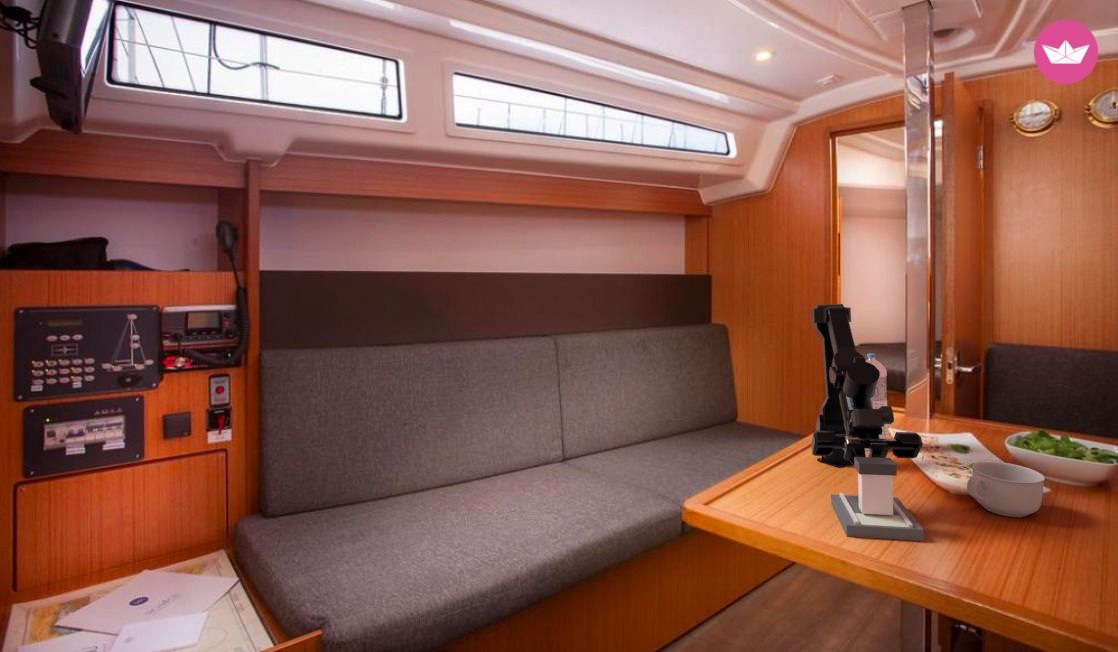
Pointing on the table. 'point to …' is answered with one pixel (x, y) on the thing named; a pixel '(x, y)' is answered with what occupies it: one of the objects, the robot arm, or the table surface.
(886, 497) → the fader knob
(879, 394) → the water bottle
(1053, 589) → the table surface
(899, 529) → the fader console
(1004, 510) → the teacup
